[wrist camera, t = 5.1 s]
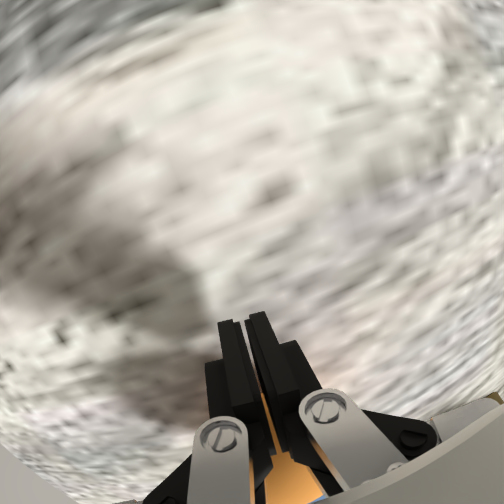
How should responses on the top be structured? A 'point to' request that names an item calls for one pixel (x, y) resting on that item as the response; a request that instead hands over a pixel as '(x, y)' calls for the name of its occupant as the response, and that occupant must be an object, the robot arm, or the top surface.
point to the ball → (288, 476)
